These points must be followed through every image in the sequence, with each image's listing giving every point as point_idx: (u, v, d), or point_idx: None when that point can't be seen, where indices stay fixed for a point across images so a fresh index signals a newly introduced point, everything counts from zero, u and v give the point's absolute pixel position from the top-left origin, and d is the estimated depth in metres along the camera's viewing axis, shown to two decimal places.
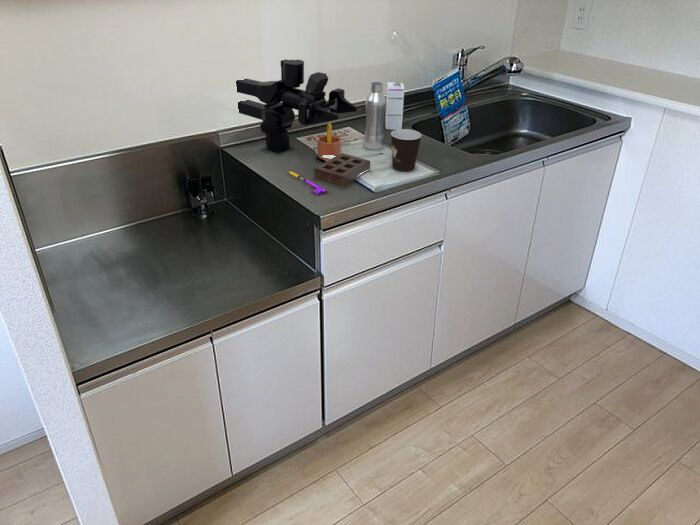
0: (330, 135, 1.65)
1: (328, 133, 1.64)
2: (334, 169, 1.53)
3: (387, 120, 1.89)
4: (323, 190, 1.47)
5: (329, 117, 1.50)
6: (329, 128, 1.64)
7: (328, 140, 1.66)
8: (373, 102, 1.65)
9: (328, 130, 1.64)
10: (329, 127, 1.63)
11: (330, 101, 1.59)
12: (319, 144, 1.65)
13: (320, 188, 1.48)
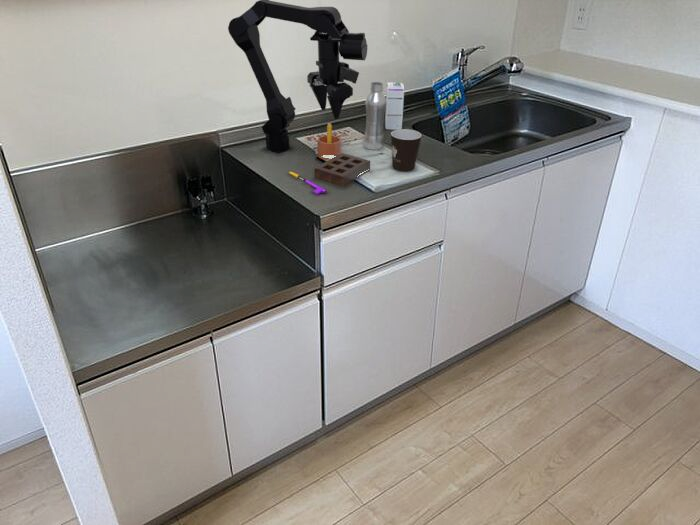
0: (330, 135, 1.65)
1: (328, 133, 1.64)
2: (334, 169, 1.53)
3: (387, 120, 1.89)
4: (323, 190, 1.47)
5: (336, 112, 1.56)
6: (329, 128, 1.64)
7: (328, 140, 1.66)
8: (373, 102, 1.65)
9: (328, 130, 1.64)
10: (329, 127, 1.63)
11: None
12: (319, 144, 1.65)
13: (320, 188, 1.48)
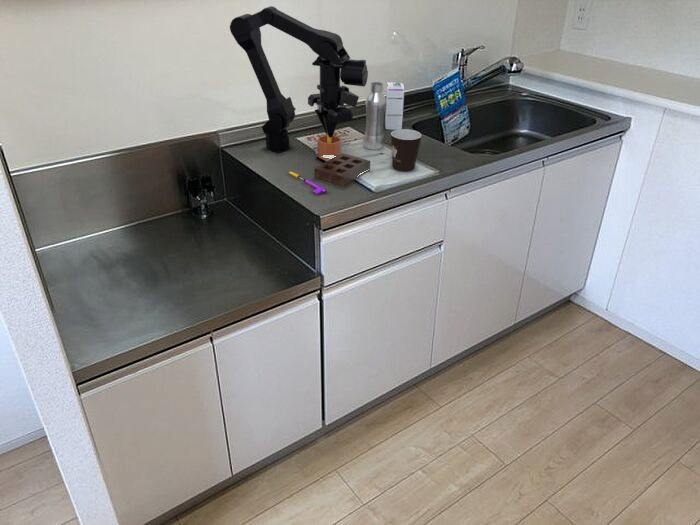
0: None
1: None
2: (334, 169, 1.53)
3: (387, 120, 1.89)
4: (323, 190, 1.47)
5: (330, 131, 1.63)
6: None
7: (328, 140, 1.66)
8: (373, 102, 1.65)
9: None
10: None
11: None
12: (319, 144, 1.65)
13: (320, 188, 1.48)
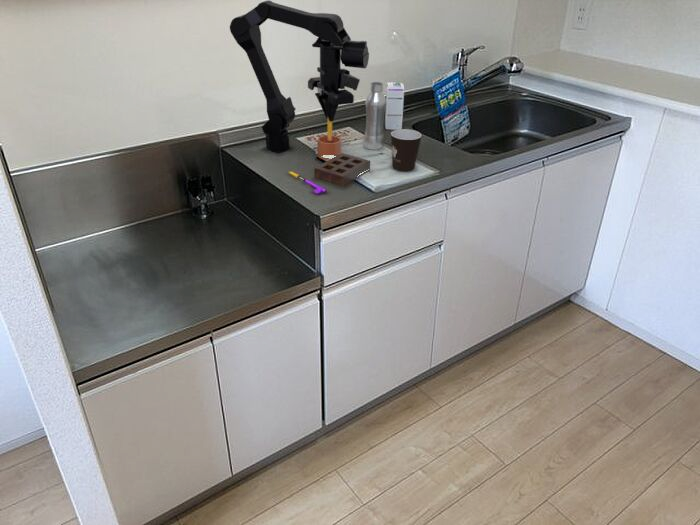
0: None
1: None
2: (334, 169, 1.53)
3: (387, 120, 1.89)
4: (323, 190, 1.47)
5: (331, 114, 1.60)
6: None
7: (328, 124, 1.63)
8: (373, 102, 1.65)
9: None
10: None
11: None
12: (319, 144, 1.65)
13: (320, 188, 1.48)
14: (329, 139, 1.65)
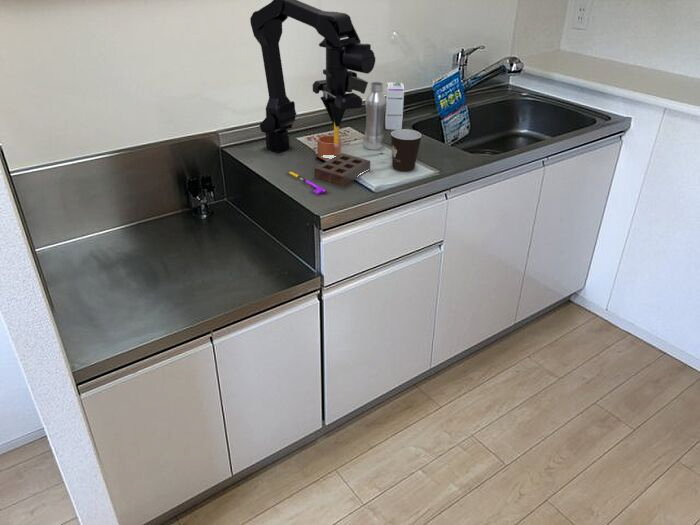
0: None
1: None
2: (334, 169, 1.53)
3: (387, 120, 1.89)
4: (323, 190, 1.47)
5: (337, 119, 1.51)
6: None
7: (335, 130, 1.54)
8: (373, 102, 1.65)
9: None
10: None
11: None
12: (319, 144, 1.65)
13: (320, 188, 1.48)
14: (336, 145, 1.56)
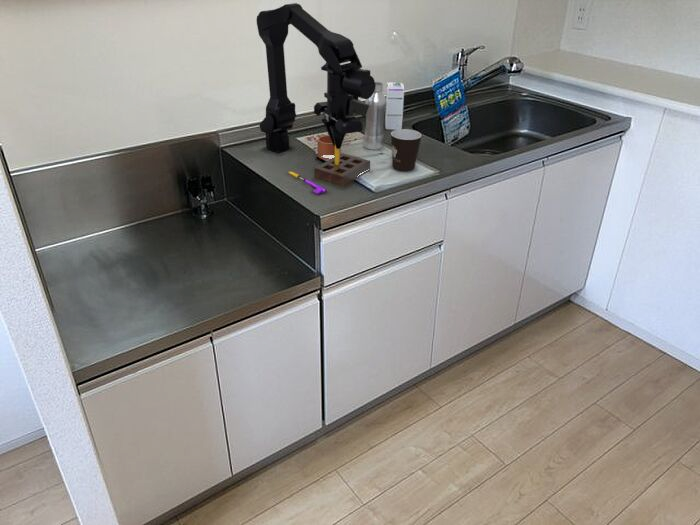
0: None
1: None
2: (334, 169, 1.53)
3: (387, 120, 1.89)
4: (323, 190, 1.47)
5: (338, 142, 1.52)
6: None
7: (336, 152, 1.54)
8: (373, 102, 1.65)
9: None
10: None
11: None
12: (319, 144, 1.65)
13: (320, 188, 1.48)
14: None
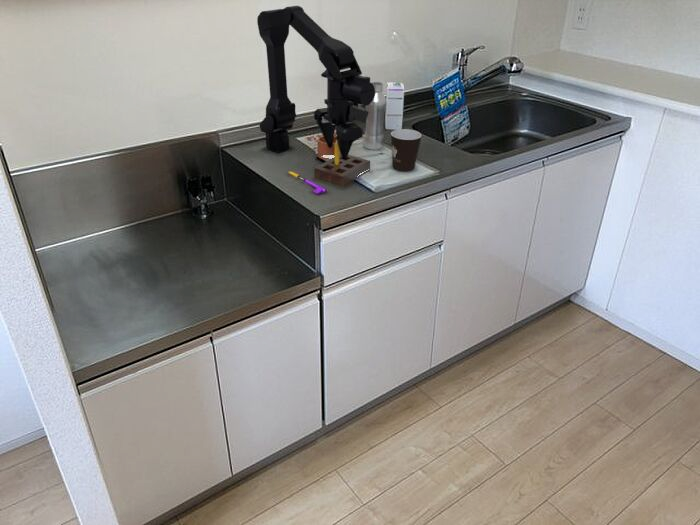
0: (338, 153, 1.55)
1: (336, 151, 1.54)
2: (334, 169, 1.53)
3: (387, 120, 1.89)
4: (323, 190, 1.47)
5: (344, 152, 1.50)
6: (337, 146, 1.53)
7: (336, 158, 1.56)
8: (373, 102, 1.65)
9: (336, 148, 1.54)
10: (337, 145, 1.53)
11: None
12: (319, 144, 1.65)
13: (320, 188, 1.48)
14: None
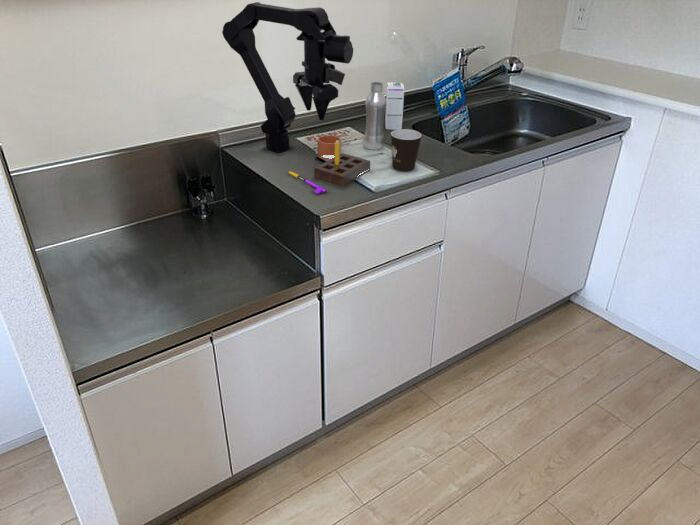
0: (338, 153, 1.55)
1: (336, 151, 1.54)
2: (334, 169, 1.53)
3: (387, 120, 1.89)
4: (323, 190, 1.47)
5: (321, 113, 1.56)
6: (337, 146, 1.53)
7: (336, 158, 1.56)
8: (373, 102, 1.65)
9: (336, 148, 1.54)
10: (337, 145, 1.53)
11: None
12: (319, 144, 1.65)
13: (320, 188, 1.48)
14: None
